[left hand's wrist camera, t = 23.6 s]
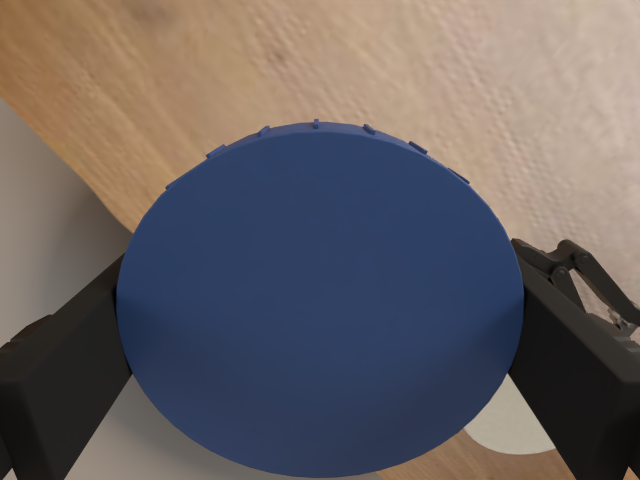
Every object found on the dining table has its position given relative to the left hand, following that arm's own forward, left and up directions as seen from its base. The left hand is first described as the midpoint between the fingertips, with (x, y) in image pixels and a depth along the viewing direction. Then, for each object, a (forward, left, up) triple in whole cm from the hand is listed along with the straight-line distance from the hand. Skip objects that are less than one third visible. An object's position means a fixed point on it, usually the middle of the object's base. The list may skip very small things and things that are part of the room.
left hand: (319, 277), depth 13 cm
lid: (0, 0, +3) cm, 3 cm away
